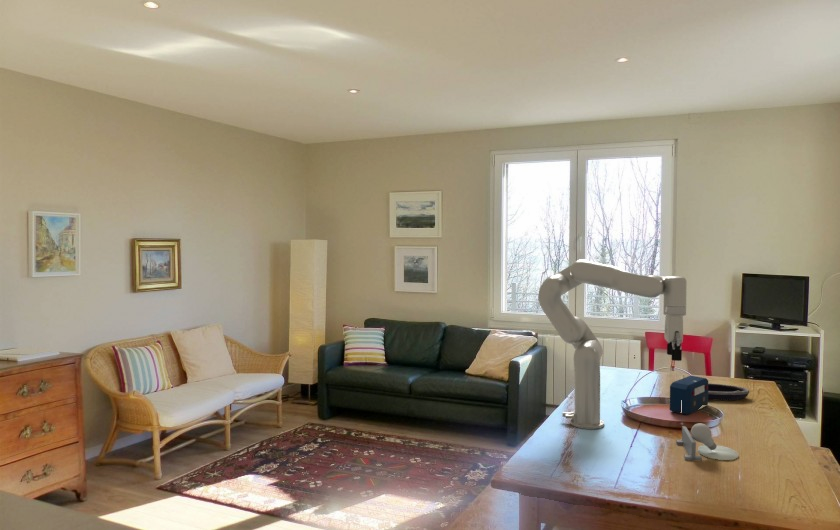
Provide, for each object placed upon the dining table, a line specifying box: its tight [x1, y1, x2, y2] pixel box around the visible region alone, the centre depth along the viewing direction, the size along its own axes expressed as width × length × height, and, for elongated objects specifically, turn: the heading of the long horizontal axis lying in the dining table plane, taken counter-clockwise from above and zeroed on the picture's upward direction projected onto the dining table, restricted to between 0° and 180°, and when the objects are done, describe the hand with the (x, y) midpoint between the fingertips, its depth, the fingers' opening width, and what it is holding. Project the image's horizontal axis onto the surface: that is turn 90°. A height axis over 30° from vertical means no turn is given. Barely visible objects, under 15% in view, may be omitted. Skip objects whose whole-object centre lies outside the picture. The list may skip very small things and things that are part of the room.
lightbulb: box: [690, 422, 717, 450], centre depth 195 cm, size 6×6×11 cm
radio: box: [669, 375, 709, 416], centre depth 244 cm, size 21×9×20 cm, turn 131°
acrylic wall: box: [675, 425, 703, 462], centre depth 198 cm, size 5×16×6 cm, turn 166°
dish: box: [708, 383, 751, 401], centre depth 263 cm, size 16×31×5 cm, turn 73°
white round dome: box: [697, 444, 739, 461], centre depth 196 cm, size 12×12×1 cm
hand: (674, 357), depth 214 cm, fingers open, 9 cm apart
